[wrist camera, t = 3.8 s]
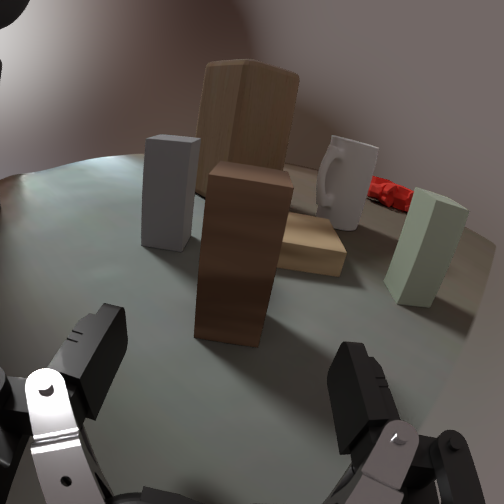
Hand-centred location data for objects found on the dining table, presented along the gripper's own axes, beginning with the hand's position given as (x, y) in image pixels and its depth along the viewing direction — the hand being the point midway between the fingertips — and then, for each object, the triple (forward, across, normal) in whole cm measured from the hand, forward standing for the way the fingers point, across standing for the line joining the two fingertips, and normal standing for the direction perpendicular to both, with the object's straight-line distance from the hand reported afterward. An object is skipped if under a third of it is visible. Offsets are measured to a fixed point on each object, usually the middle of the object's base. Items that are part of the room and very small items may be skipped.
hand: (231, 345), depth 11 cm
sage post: (+15, +17, -5) cm, 23 cm away
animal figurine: (+55, +29, -5) cm, 62 cm away
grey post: (+19, -7, -6) cm, 21 cm away
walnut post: (+8, 0, -5) cm, 10 cm away
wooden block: (+36, -2, -6) cm, 37 cm away
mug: (+32, +12, -5) cm, 34 cm away
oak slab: (+21, +5, -6) cm, 22 cm away
